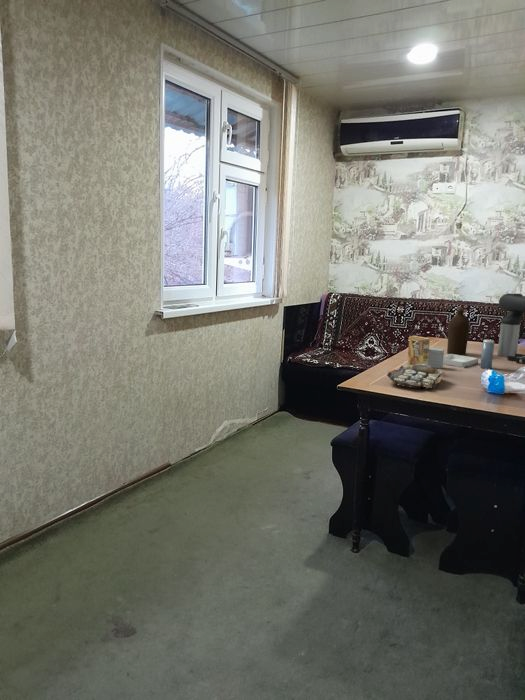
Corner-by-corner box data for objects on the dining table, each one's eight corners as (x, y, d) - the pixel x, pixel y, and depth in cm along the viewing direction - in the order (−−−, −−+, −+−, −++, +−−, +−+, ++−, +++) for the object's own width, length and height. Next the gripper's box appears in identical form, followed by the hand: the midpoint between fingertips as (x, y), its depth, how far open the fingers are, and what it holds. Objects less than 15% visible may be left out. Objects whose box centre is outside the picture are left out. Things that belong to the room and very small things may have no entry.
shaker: (482, 366, 254) (485, 339, 251) (493, 367, 250) (496, 340, 248) (478, 367, 250) (481, 340, 248) (489, 369, 247) (492, 341, 244)
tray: (450, 358, 270) (451, 353, 269) (477, 363, 260) (478, 358, 259) (435, 362, 259) (436, 357, 258) (463, 367, 249) (463, 362, 248)
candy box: (427, 371, 239) (430, 338, 236) (421, 372, 237) (424, 338, 234) (412, 367, 247) (415, 335, 244) (406, 368, 244) (408, 335, 241)
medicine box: (442, 367, 249) (444, 349, 248) (441, 369, 245) (443, 350, 244) (425, 365, 252) (427, 347, 251) (424, 367, 248) (425, 349, 247)
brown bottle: (452, 356, 277) (457, 308, 272) (442, 352, 287) (446, 306, 282) (470, 355, 279) (475, 308, 274) (459, 351, 289) (463, 306, 284)
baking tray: (436, 396, 201) (438, 382, 200) (380, 387, 210) (381, 374, 209) (448, 379, 227) (449, 367, 226) (397, 372, 237) (398, 360, 235)
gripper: (556, 352, 234) (518, 347, 245) (545, 356, 224) (506, 350, 236) (554, 368, 236) (516, 362, 247) (543, 373, 226) (504, 367, 237)
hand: (511, 356), depth 241 cm, fingers open, 8 cm apart
